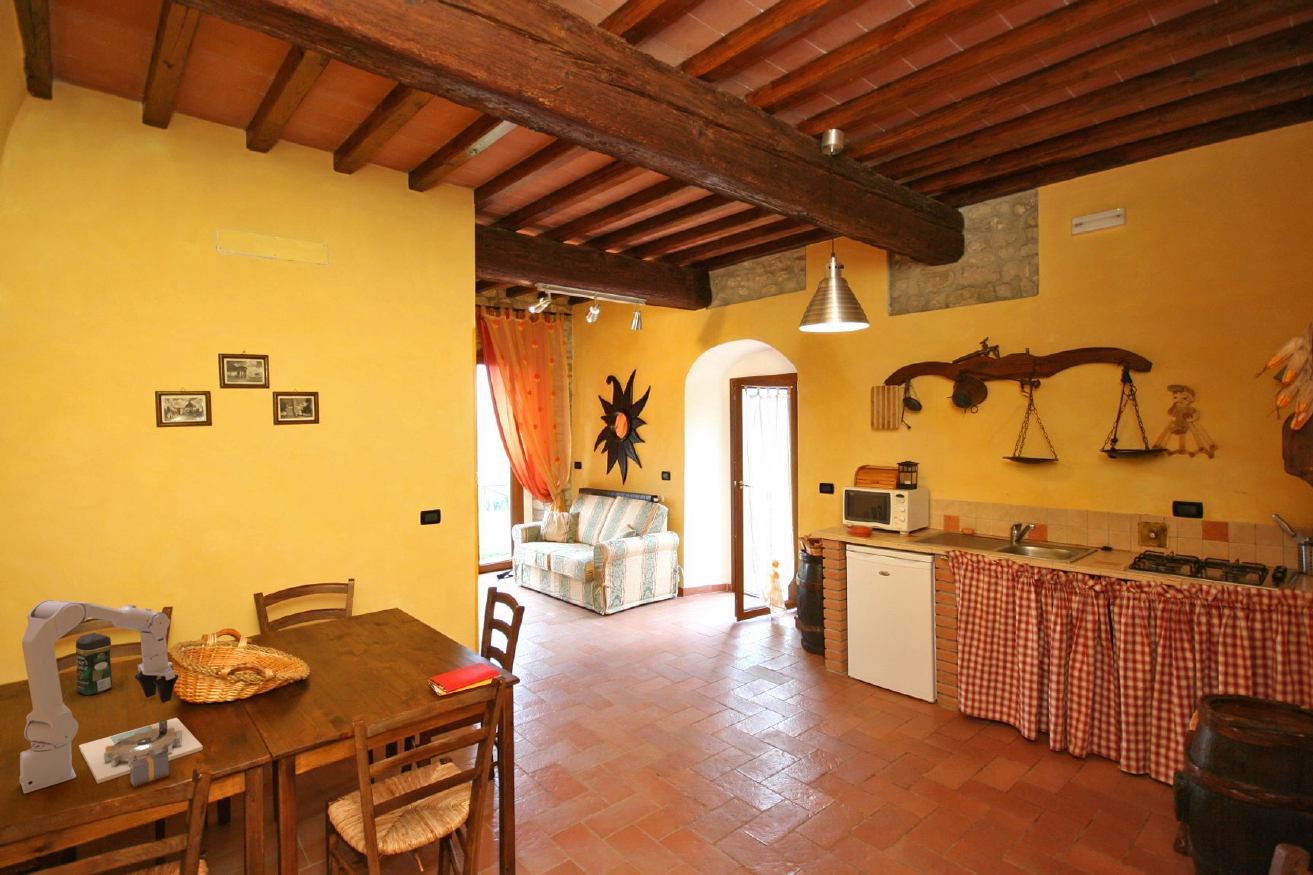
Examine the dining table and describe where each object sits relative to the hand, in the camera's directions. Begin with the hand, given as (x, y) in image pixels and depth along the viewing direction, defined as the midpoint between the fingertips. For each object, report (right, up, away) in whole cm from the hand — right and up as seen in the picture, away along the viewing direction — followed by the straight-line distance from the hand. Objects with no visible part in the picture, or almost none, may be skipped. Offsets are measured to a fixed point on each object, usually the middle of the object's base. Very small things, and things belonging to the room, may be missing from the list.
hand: (158, 698), depth 189 cm
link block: (+17, -10, -26) cm, 32 cm away
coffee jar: (-42, -9, +28) cm, 51 cm away
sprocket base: (+4, -9, -11) cm, 15 cm away
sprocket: (+7, -8, -14) cm, 17 cm away
